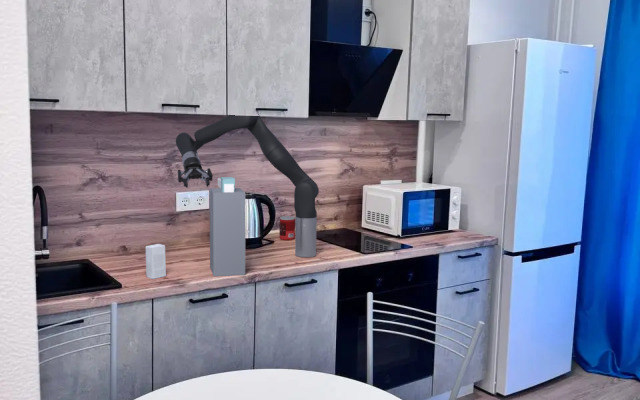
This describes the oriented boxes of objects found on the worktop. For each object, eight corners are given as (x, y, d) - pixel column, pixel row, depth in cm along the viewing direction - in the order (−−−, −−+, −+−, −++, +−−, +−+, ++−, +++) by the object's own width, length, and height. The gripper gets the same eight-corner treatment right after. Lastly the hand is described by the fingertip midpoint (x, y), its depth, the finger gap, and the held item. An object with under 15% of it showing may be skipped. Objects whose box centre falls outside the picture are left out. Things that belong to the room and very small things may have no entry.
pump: (216, 185, 246) (216, 173, 245) (227, 185, 247) (227, 173, 247) (222, 192, 225) (222, 179, 224) (235, 192, 226) (235, 178, 226)
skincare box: (159, 274, 229) (158, 243, 228) (166, 276, 227) (165, 245, 225) (145, 277, 225) (145, 246, 223) (152, 279, 222) (151, 247, 220)
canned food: (296, 238, 302) (297, 216, 301) (292, 241, 295) (292, 219, 293) (282, 237, 304) (282, 215, 302) (277, 240, 296) (277, 218, 295)
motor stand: (209, 267, 241) (209, 188, 236) (239, 266, 244) (239, 187, 240) (213, 276, 227) (213, 192, 223) (245, 274, 231) (245, 192, 226)
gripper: (175, 157, 257) (180, 179, 245) (208, 155, 261) (215, 177, 249) (175, 171, 261) (179, 193, 249) (207, 170, 266) (214, 191, 254)
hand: (197, 185), depth 249 cm, fingers open, 8 cm apart
